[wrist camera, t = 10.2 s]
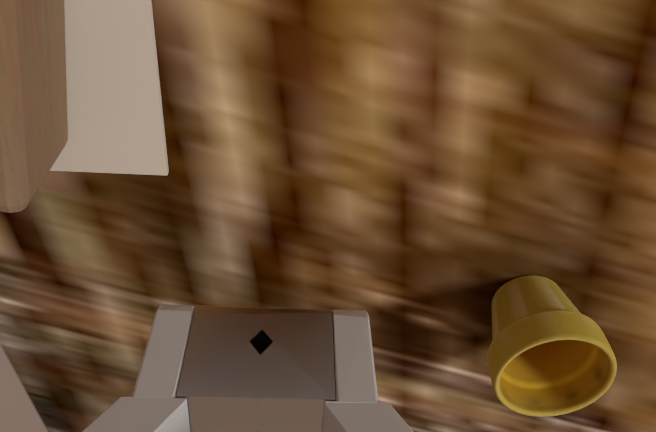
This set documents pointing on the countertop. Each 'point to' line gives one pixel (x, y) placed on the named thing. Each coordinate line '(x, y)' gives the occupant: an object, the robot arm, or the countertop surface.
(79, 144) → the mat
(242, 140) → the countertop surface
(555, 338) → the plant pot
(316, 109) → the countertop surface
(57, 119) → the wooden block
